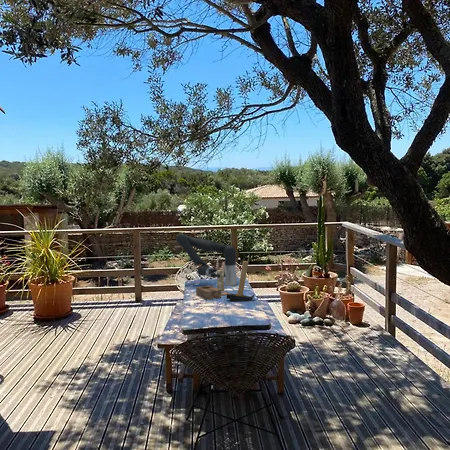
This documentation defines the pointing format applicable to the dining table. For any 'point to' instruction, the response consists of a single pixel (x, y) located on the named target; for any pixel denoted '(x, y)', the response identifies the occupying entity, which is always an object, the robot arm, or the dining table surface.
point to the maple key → (220, 280)
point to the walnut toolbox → (208, 292)
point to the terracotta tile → (223, 293)
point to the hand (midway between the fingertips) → (222, 276)
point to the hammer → (241, 286)
